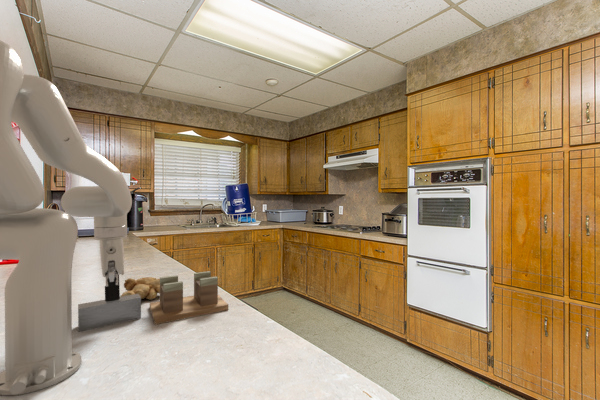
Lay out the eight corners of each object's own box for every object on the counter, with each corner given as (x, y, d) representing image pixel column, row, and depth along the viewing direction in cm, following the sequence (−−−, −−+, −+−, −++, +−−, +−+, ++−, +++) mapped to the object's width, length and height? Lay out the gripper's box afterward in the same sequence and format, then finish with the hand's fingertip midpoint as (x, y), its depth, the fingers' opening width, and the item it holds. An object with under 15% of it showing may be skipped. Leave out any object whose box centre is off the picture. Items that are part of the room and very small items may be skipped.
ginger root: (163, 283, 111) (163, 263, 110) (173, 305, 99) (173, 283, 97) (114, 292, 102) (113, 271, 100) (118, 318, 90) (118, 294, 88)
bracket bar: (141, 318, 83) (140, 297, 83) (78, 332, 74) (78, 309, 74) (138, 314, 86) (138, 293, 86) (78, 327, 77) (78, 304, 77)
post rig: (228, 309, 89) (228, 278, 89) (154, 324, 78) (154, 288, 78) (215, 296, 101) (215, 268, 101) (149, 307, 90) (149, 276, 90)
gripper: (128, 236, 75) (129, 302, 75) (126, 227, 89) (127, 283, 90) (92, 238, 71) (94, 308, 72) (96, 229, 85) (97, 287, 86)
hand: (112, 294), depth 81 cm, fingers open, 9 cm apart
